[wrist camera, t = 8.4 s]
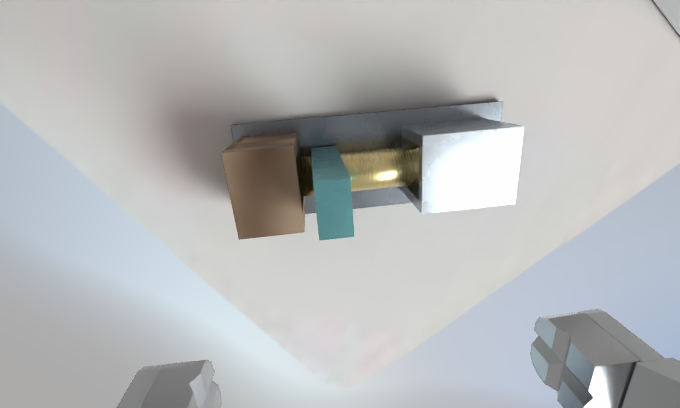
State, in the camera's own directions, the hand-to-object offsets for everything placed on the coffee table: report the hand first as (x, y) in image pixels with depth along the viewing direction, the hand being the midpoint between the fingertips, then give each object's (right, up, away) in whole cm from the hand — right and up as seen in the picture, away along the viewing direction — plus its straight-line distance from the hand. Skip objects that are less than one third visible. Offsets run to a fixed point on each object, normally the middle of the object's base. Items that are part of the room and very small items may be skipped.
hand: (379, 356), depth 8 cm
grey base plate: (+1, +7, +20) cm, 21 cm away
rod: (+1, +7, +19) cm, 20 cm away
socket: (-7, +7, +20) cm, 22 cm away
